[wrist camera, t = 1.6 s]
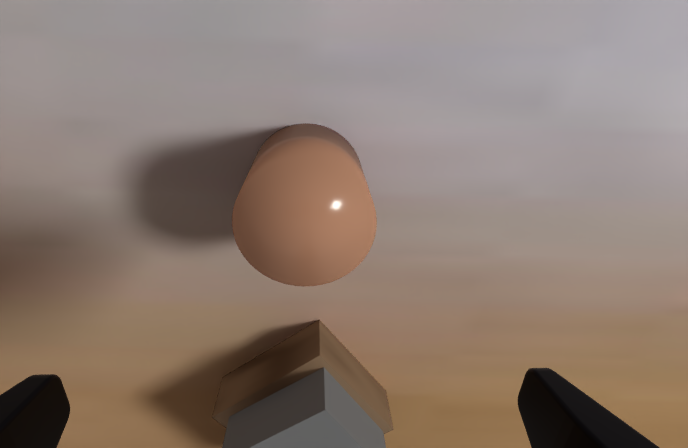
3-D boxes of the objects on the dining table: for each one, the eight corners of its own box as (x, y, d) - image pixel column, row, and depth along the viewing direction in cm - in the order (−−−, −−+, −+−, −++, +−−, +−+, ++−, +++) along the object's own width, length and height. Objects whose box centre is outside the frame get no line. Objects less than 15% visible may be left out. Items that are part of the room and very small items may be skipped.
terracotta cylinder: (297, 244, 20) (292, 307, 15) (229, 165, 18) (200, 212, 13) (382, 189, 19) (402, 240, 14) (319, 99, 17) (321, 126, 12)
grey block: (295, 473, 24) (293, 519, 21) (229, 416, 21) (218, 462, 19) (383, 431, 22) (390, 476, 20) (324, 366, 20) (325, 409, 18)
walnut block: (295, 433, 27) (293, 479, 24) (223, 373, 24) (212, 417, 21) (384, 386, 25) (393, 429, 22) (319, 315, 22) (319, 355, 20)
